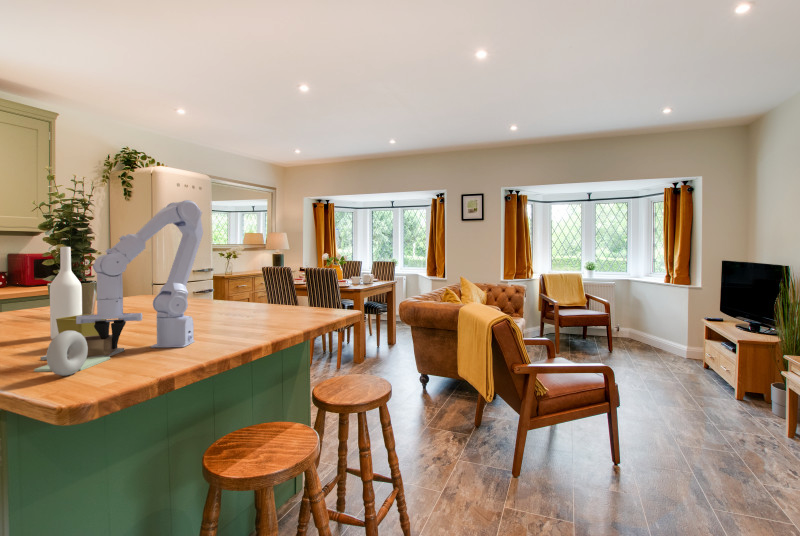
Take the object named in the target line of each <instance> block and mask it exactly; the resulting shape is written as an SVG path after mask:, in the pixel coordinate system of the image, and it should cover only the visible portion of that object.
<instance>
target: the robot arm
mask: <svg viewBox="0 0 800 536" xmlns="http://www.w3.org/2000/svg"><path fill="white" fill-rule="evenodd" d="M202 214H203V212H202V210H201V209H200V207H199V206H198V205H197V203H196V202H195V201H192V200H190V199H185V200H182V201H177V202H176V201H175V202H170V203H168V204H167V205H166V206H165V207H162V208H161V209H160V210H159V211H158V212H157V213H155V215H154V216H153V217H152V218H151V219H150V220H149V221H147V222H146V224H144V225H143V226H142V227H141V228H140V229H139V230H138V231H136V233H134V234H133V233H128V234H126V235H121V236H120V237H119V238H118V239H119V241H117V243H116V244H115V245H113V246H112V247H111V248H107V249H106V250H105V252H106V254H102V255H100V256H97V257H96V259H95V260H94V263H93V264H92V269H93V271H94V272H95V273H96V314H90V315H84V314H83V315H84V316H77V317H76V324H82V323H95V325H94V328H95V329H96V331H97V332H98V334H99V336H100V337H101V340H102V339H106V338H108V337H109V335H110V328H111V335H112V349H116V348H118V344H119V338H120V336H121V333H122V332H123V329H124V327H125V325H126V323H127V322H130V321H131V322H135V321H137V322H140V321H143V312H138V313H137V312H136V313H135V312H132V313H131V312H127V313H126V312H124V291H123V289H124V287H123V286H124V283H123V273H124V272H125V271H126V270H127V266H128V265H129V264H130V263H131V262H132V261H134V259H136V258H137V257H138V256H139V255H140V254H141V253H143V251H144V250H145V249H146V246H147V245H146V242H147V241H148V240H150V239H151V238H152V237H153V236H154V235H156V234H157V233H158V232H159V231H161V230H162V229H163V228H165V227H166V226H167V225H170V224H173V225H175V227H176V228H178V229H179V231H180V233H181V234H182V236H181V239H180V242H179V245H178V248H177V251H176V254H175V257H174V260H173V262H172V265H171V269H170V272H169V274H168V277H167V280H166V283H164V284H163V285H162V287H161V288H160V289H159V292H158V294H157V295H156V296H155V297H154V299H153V301H152V308H153V309H154V310H155V312H157V313H156V343H155V344H152V345H150V348H151V349H152V348H153V349H154V348H157V349H160V348H184V347H187V346H189V345H191V344H193V343H195V339H194V334H195V333H194V331H195V330H194V319H193V317H192V316H191V315H190V316H189V315H185V312H186V311H187V309H188V304H189V303H188V296H189V291H188V288H187V285H188V282H189V278H190V275H191V272H192V269H193V266H194V262H195V261H196V260H195V259H196V257H197V253H198V250H199V248H200V244H201V241H202V239H203V234H204V230H203V223H202ZM102 319H107V320H102ZM111 322H112V323H111Z"/></svg>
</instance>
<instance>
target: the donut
mask: <svg viewBox="0 0 800 536" xmlns="http://www.w3.org/2000/svg"><path fill="white" fill-rule="evenodd" d="M68 348H69V356H68V358H67V350H68ZM46 350H47V351H46V355H47V356H46V355H45V356H46V358H47V360H46V365H48V366H49V368H50V370H51V371H50V372H53V374H55V375H57V376H63V377H66V376H71V375H74V374H75V373H77V372H79V371H78V370H79V369H80V368H81V367H82V366H83V364H84V362H85V360H86V357H87V353H88V346H87V342H86V340H85V338H84V337H83V335H82V334H81V333H78V332H76V331H64V332H62V333H60V334H58V335H57V336H56V337H54V338H53V339H51V341H50V342H49V345H48V347H47V349H46Z"/></svg>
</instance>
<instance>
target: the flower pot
mask: <svg viewBox="0 0 800 536" xmlns="http://www.w3.org/2000/svg"><path fill="white" fill-rule="evenodd" d="M84 315H91V313H90V314H85V313H84V314H82V315H77V316H84ZM77 316H71V317H63V318H57V319H56V322H57V327H58V332H59V334H60V333H62V332H64V331H76V332H78V333H81V334H82V335H83V336H96V335H99V334H98V332H97V331H96V329H95V328H94V325H95V323H82V324H76V317H77ZM102 320H108V319H102Z"/></svg>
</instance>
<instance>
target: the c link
mask: <svg viewBox="0 0 800 536" xmlns="http://www.w3.org/2000/svg"><path fill="white" fill-rule="evenodd" d="M83 337H84V338H85V340H86V342H87V346H88V353H87V357H89V356H102V355H110V354H111V353H112V352H114V351H115V350H116V349H117V348H118V347H117V348H116V349H112V334H109V337H108V338H106V339H102V340H101V337H100V336H99V335H96V336H83Z"/></svg>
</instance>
